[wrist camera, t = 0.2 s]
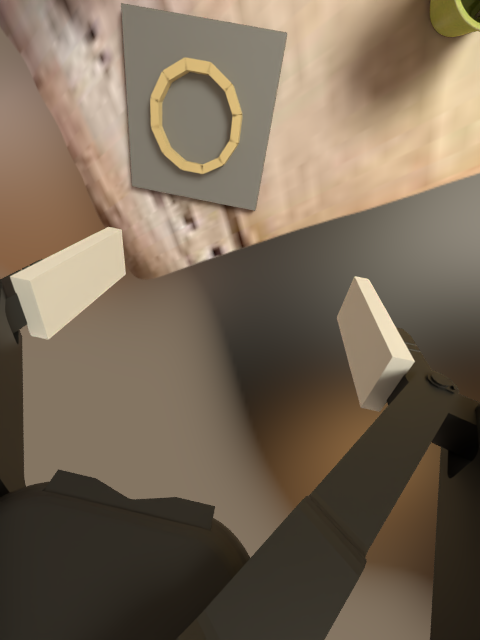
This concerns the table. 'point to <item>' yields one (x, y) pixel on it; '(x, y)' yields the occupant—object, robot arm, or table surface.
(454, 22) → the plant pot
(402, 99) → the table surface
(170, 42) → the collar board
